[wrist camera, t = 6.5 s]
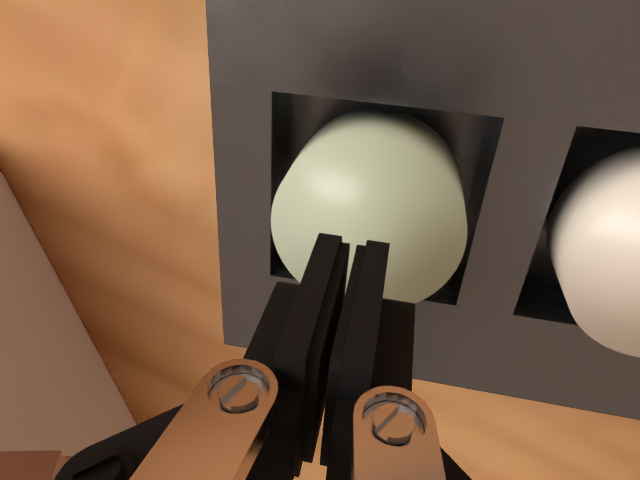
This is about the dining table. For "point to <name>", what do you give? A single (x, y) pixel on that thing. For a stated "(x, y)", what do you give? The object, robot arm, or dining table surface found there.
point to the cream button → (601, 250)
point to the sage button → (376, 199)
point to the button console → (468, 148)
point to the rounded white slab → (47, 353)
